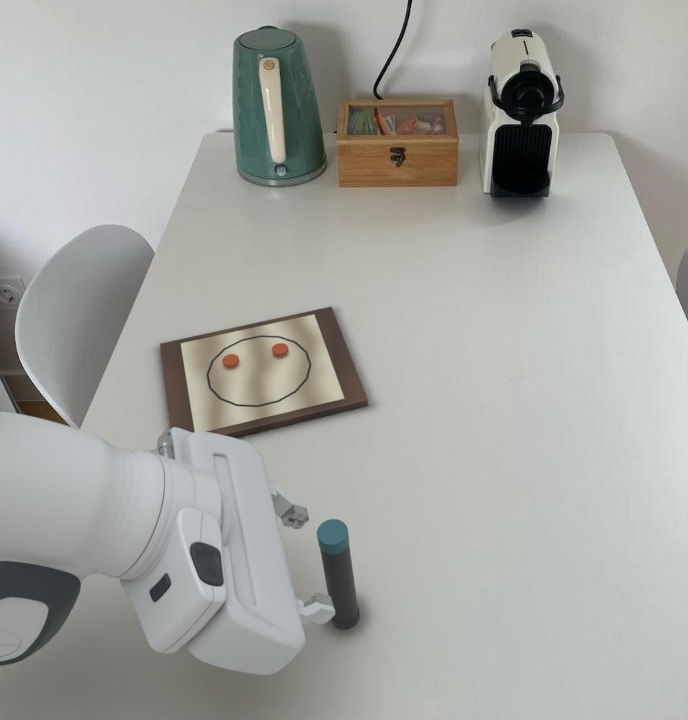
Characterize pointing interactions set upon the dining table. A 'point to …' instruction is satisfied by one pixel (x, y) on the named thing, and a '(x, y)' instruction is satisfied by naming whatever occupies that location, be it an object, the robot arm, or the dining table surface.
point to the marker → (338, 572)
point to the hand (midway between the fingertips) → (315, 561)
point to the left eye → (230, 360)
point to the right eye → (279, 349)
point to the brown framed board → (261, 376)
